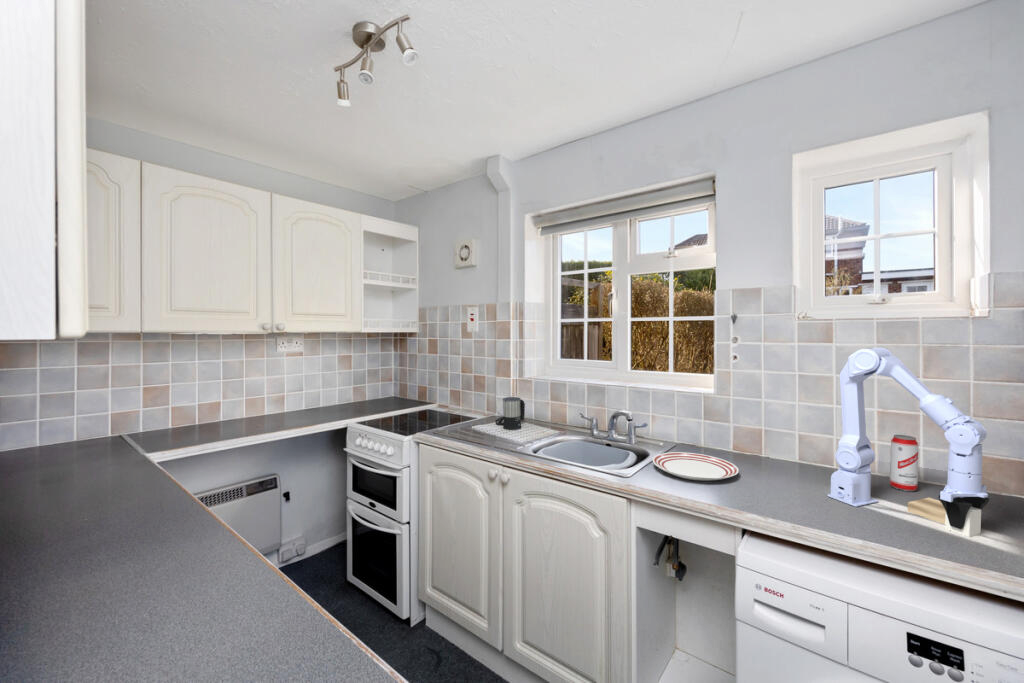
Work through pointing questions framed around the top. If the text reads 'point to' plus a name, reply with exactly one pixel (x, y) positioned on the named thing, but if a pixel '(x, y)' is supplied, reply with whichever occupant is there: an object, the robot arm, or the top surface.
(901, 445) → the beer can
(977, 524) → the white block
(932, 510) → the oak block
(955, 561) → the top surface
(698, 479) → the dinner plate
